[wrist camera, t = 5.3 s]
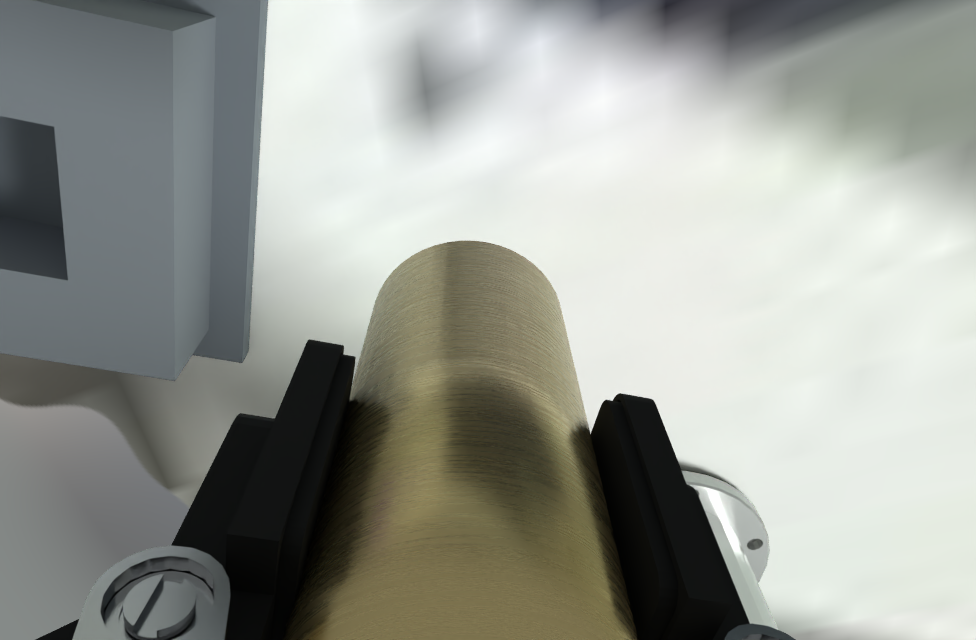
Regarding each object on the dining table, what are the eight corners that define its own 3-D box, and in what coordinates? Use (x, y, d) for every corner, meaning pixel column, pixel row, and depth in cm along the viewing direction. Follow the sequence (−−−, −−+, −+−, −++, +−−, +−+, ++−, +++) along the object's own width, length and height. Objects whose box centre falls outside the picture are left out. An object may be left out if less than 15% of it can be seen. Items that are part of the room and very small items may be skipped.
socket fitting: (248, 351, 32) (213, 417, 28) (-123, 289, 30) (-224, 349, 26) (269, -21, 24) (225, -11, 20) (-227, -137, 22) (-394, -154, 18)
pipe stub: (536, 419, 16) (663, 1409, 5) (360, 390, 15) (100, 1414, 5) (585, 261, 14) (950, 1315, 3) (386, 222, 13) (46, 1310, 3)
